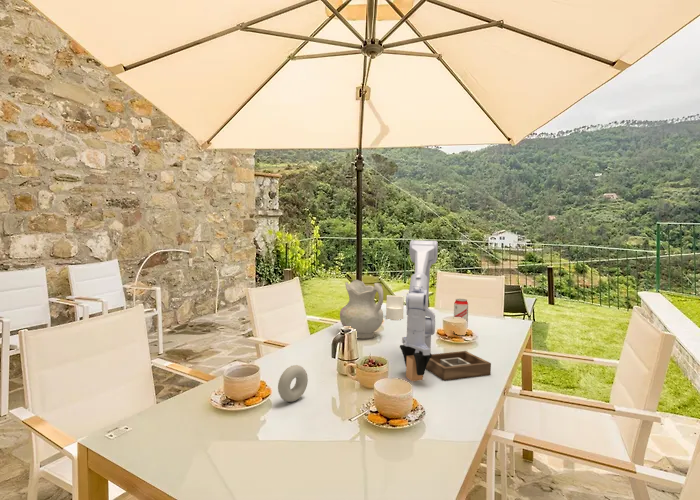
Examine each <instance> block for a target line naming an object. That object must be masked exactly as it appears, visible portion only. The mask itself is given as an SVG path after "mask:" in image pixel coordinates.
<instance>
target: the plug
mask: <svg viewBox="0 0 700 500" xmlns="http://www.w3.org/2000/svg"><path fill="white" fill-rule="evenodd" d="M405 367H406V368H405V370H406V371H405V378H407V379H408V380H410V381H411V382H416V381H424V375H417V370H416V361H415V358H414V355H410V356H407V361H406V365H405Z"/></svg>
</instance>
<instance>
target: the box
mask: <svg viewBox="0 0 700 500" xmlns="http://www.w3.org/2000/svg"><path fill="white" fill-rule="evenodd" d="M431 354H432V353H431ZM425 370H427V371H428V372H429V373H431V374H433V375H434V376H436V377H437V378H439V379H441V380H442V381H444V382H446V381H447V382H448V381H454V380H455V381H456V380H461V379H462V380H463V379H469V378H477V377H478V378H479V377H485V376H491V374H492V371H491V370H492V362H489V361H487V360H485V359H483V358H482V357H480V356H478V355H475V354H472V353H471V352H469V351H466V350H463V351H452V352H443V353H442V352H441V353H434V354H432V357H431V358H430V360H429V361H428V363H427V366H426V369H425Z"/></svg>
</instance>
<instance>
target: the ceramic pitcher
mask: <svg viewBox="0 0 700 500" xmlns="http://www.w3.org/2000/svg"><path fill="white" fill-rule="evenodd" d="M344 284H345V289H346V292H347V293H348V297H349V298H348V299H349V300H348V303H346V304H345V305H344V306H343V307H342V308H341V309H340V311H339V319H340V322H341V323H340V324H341V325H342V327H344V326H351V327H352V328H354V329H356V331H357V337H358V338H357V339H363V340H364V339H365V340H369V339H373V338H375V334H374V332H376V331H378V330H379V328H380V327H381V325H382V324H383V322H384V311H383V309H382V305H383V303H384V290H383V285H382V284H381V282H374V283H373V284H374V286H373V285H366V284H365V282H364V281H361V280H359V279H354V280H352V281H351V282H350V283H348V282H347V281H346V282H345V283H344ZM377 293H378V301H377V303H376V302H375V297H376V294H377Z"/></svg>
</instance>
